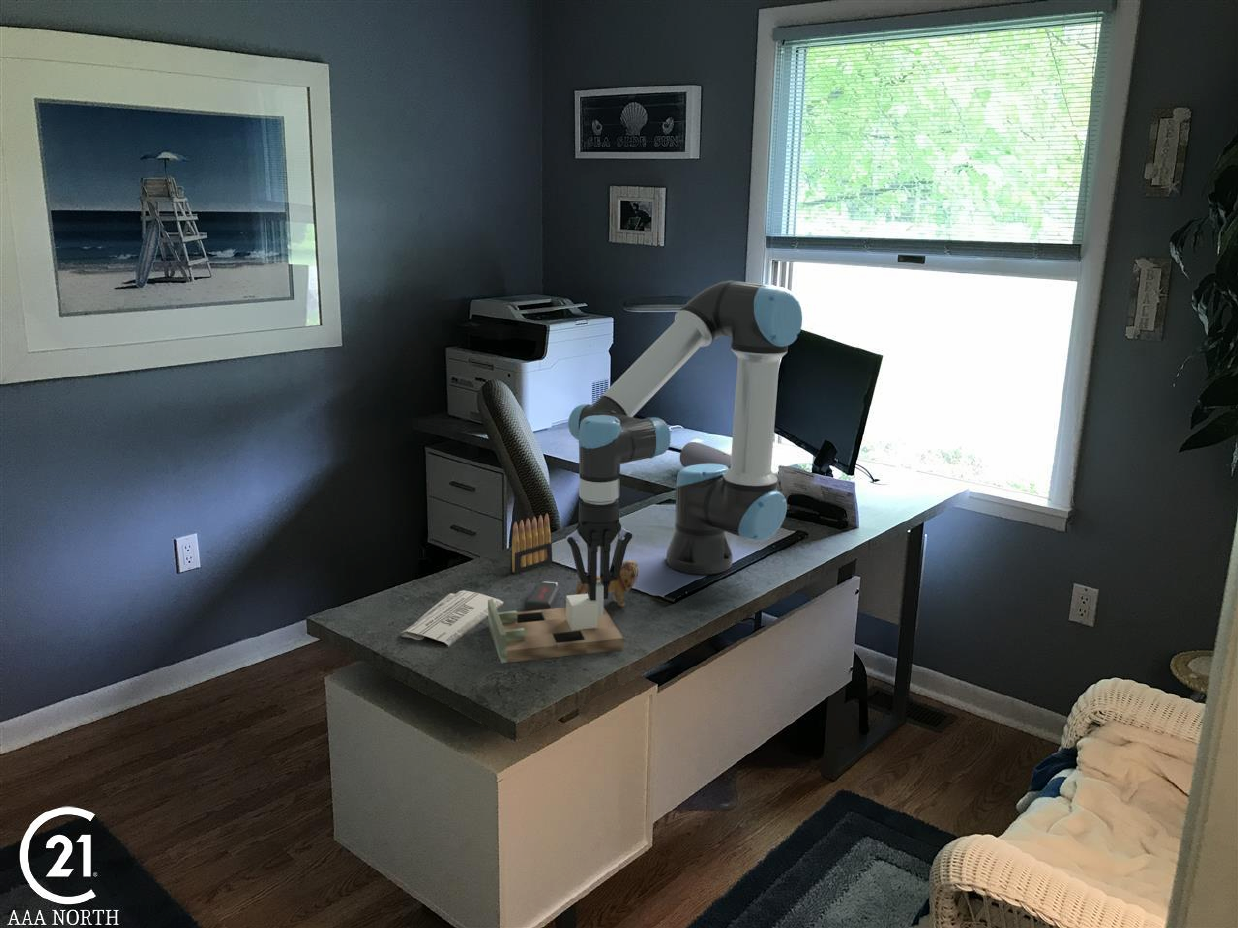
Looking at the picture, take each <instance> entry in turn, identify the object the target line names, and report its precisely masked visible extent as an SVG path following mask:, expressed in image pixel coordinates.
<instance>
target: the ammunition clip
mask: <svg viewBox="0 0 1238 928" xmlns="http://www.w3.org/2000/svg"><path fill="white" fill-rule="evenodd" d="M549 517H550V516H549V514H548V513H546V514H545V516H544V520H543V515H541V514H540V515H539V517H538V521H537V519H536V516H533V518H532V521H530V519H529V518H527V519H526V522H524V521H523V519H520V523H519V527H518V523H517V521H514V523H513V527H512V537H511V538H512V539H511V551H510V567H509V568H510V570H509V571H510V573H512V574H515V575H519V574H522V573H525V572H528V571H533V570H535V569H538V568H540V567H544V566H547V565H550V564H551V565H552V564H553V542H552V540H551V527H550V518H549ZM524 523H525V524H524Z"/></svg>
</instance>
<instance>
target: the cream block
mask: <svg viewBox="0 0 1238 928" xmlns="http://www.w3.org/2000/svg"><path fill="white" fill-rule="evenodd" d="M565 597H566V598H565V599H566V600H565V603H566V604H565V607H566V620H567V622H568V624H569V626H570V628H571V629H572V630H581V629H590V628H597V623H598V603H597V602H596V600H593V601H591V600H590V599H589V597H588V594H586V593H583V594H579V595H575V594H571V595H566V596H565Z"/></svg>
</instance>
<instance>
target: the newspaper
mask: <svg viewBox="0 0 1238 928" xmlns="http://www.w3.org/2000/svg"><path fill="white" fill-rule="evenodd" d="M492 599H493V601H494V604H495V606H496V609H497V610H498V609H499V607H501V606H502V605H503V604H504V601H502V600H501V599H499V598H495V597H493V596H489V595H486V594H484V593H483V594H482V593H479V592H474V591H469V590H464V589H463V590H459V591H458V592H456V593H451V592H450V593H449V594H447V595H446V596H444V598H442V599H441V600H440V601H439V602H438V603H436V604H435V605H434V606H433V607H432V608H430V609H429V610H428V611H426V613H424V614H423V615H422V616H421V617H420V618H419V619H418V620H417V621H416V622H414V623H413V624H411V625H409V627H406V629H405V630H403V631H402V632H401V633H400V636H401V637H403V638H410V639H413V640H415V641H422V640H424V639H425V637H427V638H430V639H432V640H436V641H439V642H442V643H444V644H446V645H447V647H448V648H450V647H451V646H452V645H453V644H454V643H456V642H457V641H458V640H460V638H462V637H463V636H464V635H466V634H467V633H468V632H470V631H471V630H472V629H473V628H475V627H476V626H477V625H478V624H480V623H481V622H482V621H483V620H485V619H486V618H488V600H492Z"/></svg>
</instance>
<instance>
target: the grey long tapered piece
mask: <svg viewBox="0 0 1238 928" xmlns="http://www.w3.org/2000/svg"><path fill="white" fill-rule="evenodd" d="M731 455H732V454H729V453H727V452H724V451H722V450H719V449H717V448H715V447H712V446H710V445H707V444H703V443H701V442H696V441H695V442H694V441H690V442H687V443H685V445H684V446H683V447H682V449H681V450H680V453H679V456H678V457H679V463H680V464H681V466H682V467H683V468H684V467H687V466H691V465H696V464H722V465H726V466H727V467H728V468H729V469H730V467H731Z"/></svg>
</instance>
